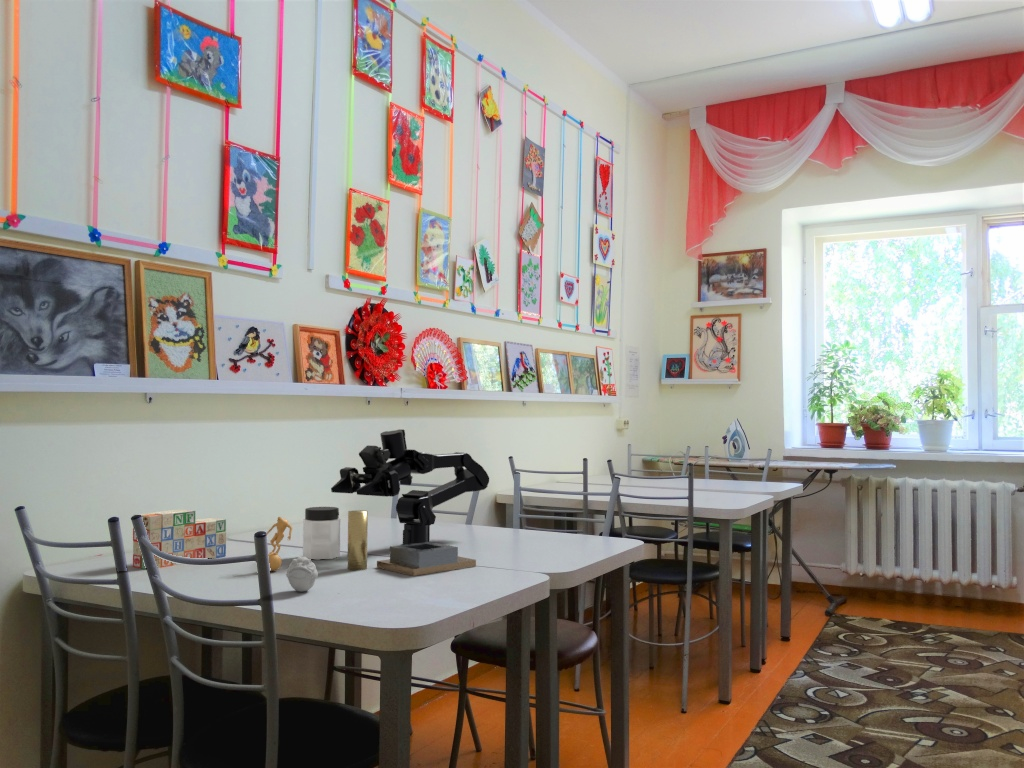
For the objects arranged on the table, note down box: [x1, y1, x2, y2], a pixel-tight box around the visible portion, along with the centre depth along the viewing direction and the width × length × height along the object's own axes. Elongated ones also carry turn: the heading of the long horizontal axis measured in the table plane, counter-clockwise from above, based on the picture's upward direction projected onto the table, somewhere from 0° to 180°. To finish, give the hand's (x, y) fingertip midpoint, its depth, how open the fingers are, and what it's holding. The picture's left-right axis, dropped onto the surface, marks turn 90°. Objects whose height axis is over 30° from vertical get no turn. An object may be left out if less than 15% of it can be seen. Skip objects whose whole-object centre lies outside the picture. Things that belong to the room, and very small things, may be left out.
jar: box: [302, 506, 341, 560], centre depth 207 cm, size 9×8×12 cm
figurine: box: [265, 516, 293, 572], centre depth 189 cm, size 8×6×12 cm
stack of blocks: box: [132, 509, 227, 570], centre depth 200 cm, size 21×6×12 cm, turn 148°
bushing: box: [347, 509, 369, 571], centre depth 192 cm, size 4×4×13 cm
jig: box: [376, 541, 477, 577], centre depth 194 cm, size 18×14×5 cm
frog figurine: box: [285, 556, 319, 593], centre depth 166 cm, size 6×7×7 cm
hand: (344, 491), depth 204 cm, fingers open, 9 cm apart
